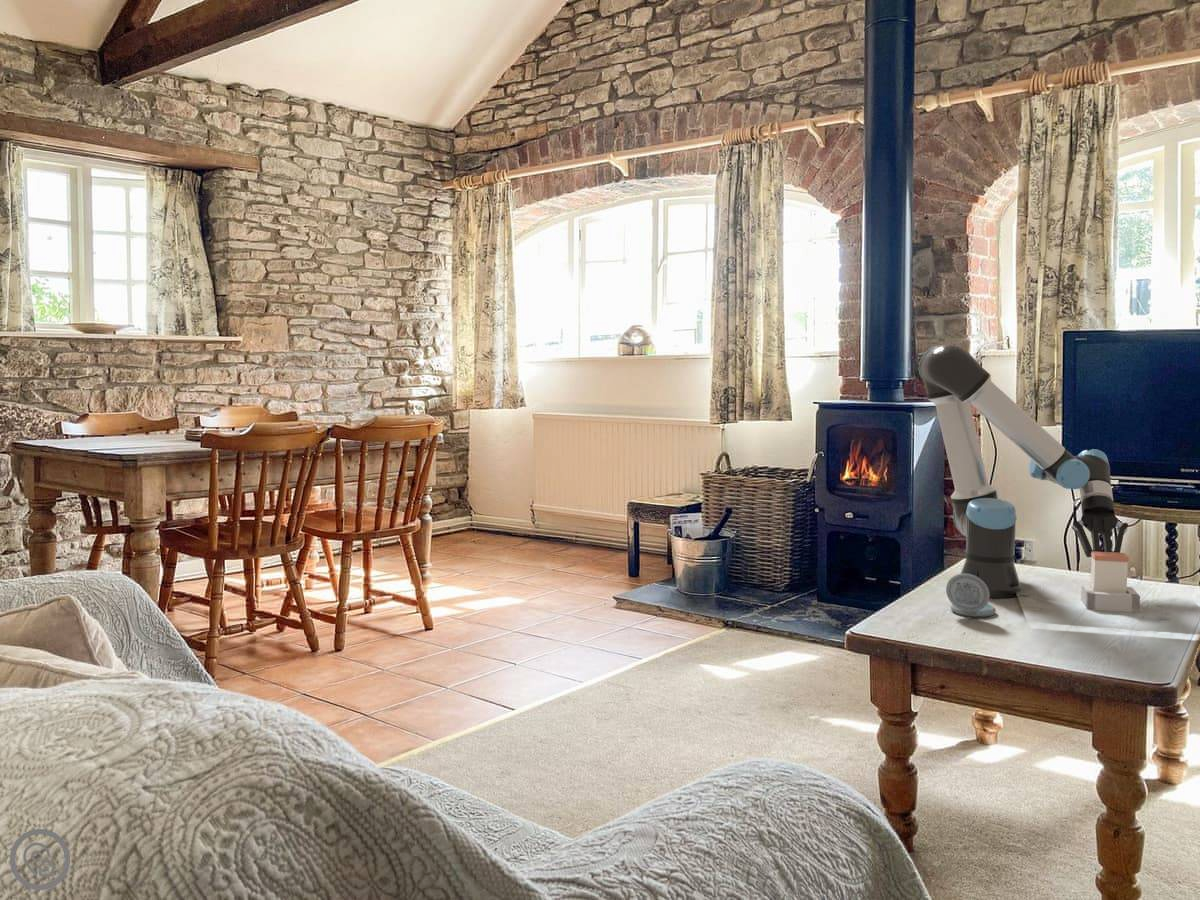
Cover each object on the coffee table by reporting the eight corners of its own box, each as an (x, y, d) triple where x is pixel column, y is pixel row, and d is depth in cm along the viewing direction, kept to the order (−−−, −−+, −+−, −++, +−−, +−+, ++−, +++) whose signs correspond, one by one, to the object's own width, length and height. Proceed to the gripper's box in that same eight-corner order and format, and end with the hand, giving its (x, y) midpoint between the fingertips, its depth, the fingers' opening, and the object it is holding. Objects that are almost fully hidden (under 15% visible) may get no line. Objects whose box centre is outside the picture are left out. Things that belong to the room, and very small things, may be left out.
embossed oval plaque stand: (944, 571, 231) (959, 559, 243) (943, 617, 232) (958, 603, 244) (989, 576, 225) (1002, 564, 238) (988, 623, 226) (1001, 608, 239)
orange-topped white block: (1089, 599, 242) (1091, 551, 241) (1122, 601, 240) (1124, 552, 238) (1092, 604, 237) (1094, 555, 236) (1126, 607, 235) (1128, 557, 234)
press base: (1068, 595, 251) (1069, 575, 251) (1130, 599, 247) (1131, 579, 246) (1080, 615, 232) (1081, 594, 232) (1147, 619, 228) (1148, 598, 228)
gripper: (1122, 512, 256) (1132, 590, 242) (1067, 510, 260) (1074, 586, 246) (1127, 494, 251) (1138, 573, 237) (1071, 492, 255) (1078, 570, 241)
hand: (1105, 580), depth 241 cm, fingers closed
